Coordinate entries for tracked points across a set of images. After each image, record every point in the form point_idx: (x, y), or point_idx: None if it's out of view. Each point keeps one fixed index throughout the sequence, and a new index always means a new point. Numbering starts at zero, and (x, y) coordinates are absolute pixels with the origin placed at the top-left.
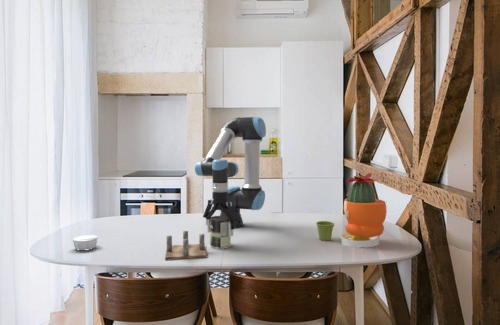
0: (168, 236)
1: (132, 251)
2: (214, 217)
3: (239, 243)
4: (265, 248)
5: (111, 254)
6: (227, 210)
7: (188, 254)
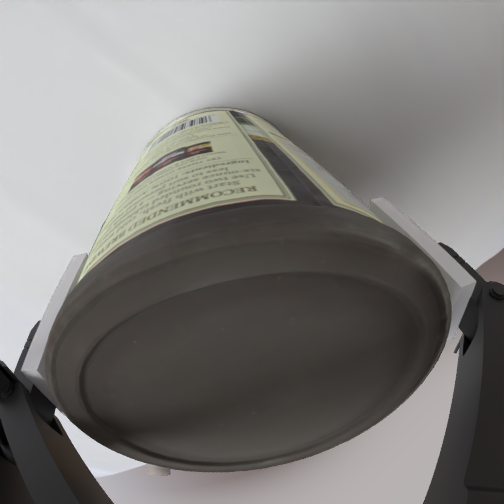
0: (162, 474)
1: (74, 434)
2: (133, 431)
3: (286, 34)
4: (476, 52)
5: (82, 453)
6: (489, 490)
7: None
